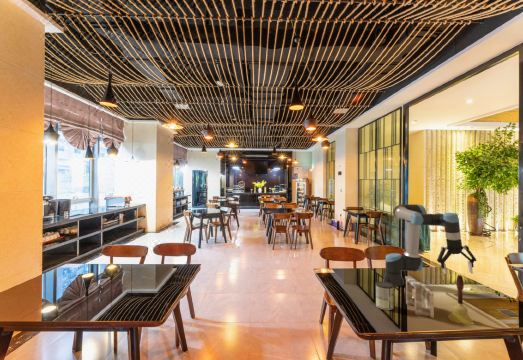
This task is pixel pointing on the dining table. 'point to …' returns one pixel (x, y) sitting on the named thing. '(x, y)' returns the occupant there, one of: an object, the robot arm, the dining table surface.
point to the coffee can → (384, 295)
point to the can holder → (419, 297)
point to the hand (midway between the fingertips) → (458, 273)
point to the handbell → (460, 306)
